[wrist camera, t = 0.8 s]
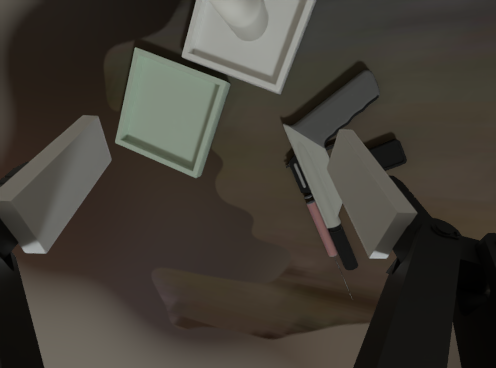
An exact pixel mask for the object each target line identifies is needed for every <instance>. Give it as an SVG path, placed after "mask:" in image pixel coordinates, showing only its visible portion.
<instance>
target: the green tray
mask: <svg viewBox="0 0 496 368" xmlns="http://www.w3.org/2000/svg"><path fill="white" fill-rule="evenodd" d="M230 85H231V84H230V83H228V82H226V81H224V80H221V79H218V78H216V77H213V76H210V75H208V74H205V73H202V72H200V71H197V70H194V69H192V68H189V67H186V66H184V65H181V64H178V63H176V62H173V61H171V60H168V59H165V58H163V57H160V56H157V55H155V54H152V53H149V52H147V51H144V50H141V49H139V48H136V47H135V50H134V55H133V59H132V64H131V69H130V74H129V78H128V83H127V88H126V93H125V98H124V102H123V107H122V112H121V117H120V122H119V127H118V131H117V136H116V141H115V143H117V144H120V145H122V146H124V147H126V148H128V149H131V150H133V151H135V152H138V153H140V154H142V155H144V156H147V157H149V158H151V159H154V160H156V161H158V162H160V163H163V164H165V165H167V166H170V167H172V168H174V169H176V170H179V171H181V172H183V173H186V174H188V175H190V176H192V177H195V178H197V177H199V176H201V174H202V171H203V168H204V165H205V162H206V159H207V156H208V153H209V149H210V146H211V143H212V140H213V137H214V134H215V131H216V128H217V125H218V122H219V119H220V115H221V112H222V109H223V106H224V103H225V100H226V97H227V94H228V91H229V88H230Z"/></svg>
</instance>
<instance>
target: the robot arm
mask: <svg viewBox="0 0 496 368" xmlns="http://www.w3.org/2000/svg"><path fill="white" fill-rule="evenodd" d="M110 162H111V156H110V153H109V150H108V146H107V143H106V140H105V137H104V133H103V130H102V127H101V124H100V120H99V117H98V116H87V115H83V116H82V117H81V118H79V119H78V120H77V121H76V122H75V123H74V124H73V125H71V126H70V127H69V128H68V129H67V130H66V131H64V132H63V133H62V134H61V135H60V136H59V137H58V138H56V139H55V140H54V141H53V142H52V143H51V144H50V145H48V146H47V147H46V148H45V149H44V150H43V151H41V152H40V154H38V155H37V156H36V157H35V158H33V159H32V160H31V161H30V162H26V163H24V164H22V165H20V166H18V167H16V168H14V169H13V170H11V171H10V172H9V173H8V174H7V175H6V176H5V178H2V179H1V180H0V368H44V365H43V361H42V358H41V353H40V349H39V345H38V341H37V338H36V334H35V330H34V326H33V322H32V318H31V314H30V310H29V306H28V303H27V299H26V295H25V291H24V287H23V284H22V279H21V275H20V271H19V268H18V264H17V260H16V257H15V255H14V254H13V253H12V252H11V251H12V250H13V249H14V247H15V246H16V245H17V244H19V245H20V246H21V247H22V249H23V250H24V252H25V253H47V251H48V250H49V249H50V247H51V246H52V245H53V243H54V242H55V240H56V239H57V237H58V236H59V235H60V233H61V232H62V230H63V229H64V227H65V226H66V225H67V223H68V222H69V220H70V219H71V217H72V216H73V215H74V213H75V211H76V210H77V209H78V207H79V206H80V205H81V203H82V202H83V200H84V199H85V197H86V196H87V194H88V193H89V192H90V190H91V189H92V187H93V186H94V184H95V183H96V182H97V180H98V179H99V177H100V176H101V174H102V173H103V172H104V170H105V169H106V167H107V166H108V165H109V163H110ZM327 171H328V173H329V175H330V177H331V179H332V182H333V184H334V186H335V188H336V190H337V192H338V194H339V196H340V198H341V200H342V202H343V204H344V207H345V209H346V211H347V213H348V215H349V217H350V219H351V221H352V223H353V225H354V227H355V230H356V232H357V234H358V236H359V238H360V240H361V242H362V244H363V246H364V248H365V250H366V252H367V255H368V257H369V258H387V257H388V255H389V254H390V252H391V251H392V250H393V251H394V253H395V254H396V256H397V258H396V259H395V261H394V262H393V264H392V265H391V266H390V268H389V269H388V270H387V272H386V273H388V274H389V275H388V278H387V280H386V283H385V286H384V288H383V291H382V294H381V296H380V299H379V301H378V304H377V307H376V309H375V312H374V315H373V317H372V320H371V322H370V325H369V328H368V330H367V333H366V336H365V338H364V341H363V344H362V346H361V349H360V352H359V354H358V357H357V359H356V362H355V364H354V367H353V368H447V363H448V355H449V347H450V339H451V331H452V322H453V325H454V330H455V335H456V341H457V346H458V351H459V356H460V362H461V367H462V368H496V233H488V234H486V235H485V236H484V237H483V238H482V239H481V240H480V241H479V240H476V239H472V238H468V237H464V236H462V235H461V234H460V233H459V231H458V230H457V229H456V228H454V227H453V226H452V225H450V224H449V223H447V222H445V221H442V220H440V219H436V218H432V217H431V216H430V215H429V214H428V212H427V211H426V210H425V209H424V208H423V206H422V205H421V204H420V203H419V202H418V200H417V199H416V198H414V195H413V194H412V193H411V192H410V191H409V189H408V188H407V187H406V186H405V185H404V183H403V182H401V181H400V180H398V179H397V178H396V177H394V176H388V175H387V173H386V172H385V171H384V169H383V168H382V167H381V166H380V164H379V163H378V162H377V161H376V159H375V158H374V157H373V155H372V154H371V153H370V152H369V150H368V149H367V148H366V146H365V145H364V144H363V143H362V141H361V140H360V139H359V137H358V136H357V135H356V134H355V132H354V131H353V130H347V129H339V132H338V135H337V138H336V141H335V144H334V147H333V150H332V153H331V157H330V160H329V163H328V166H327Z"/></svg>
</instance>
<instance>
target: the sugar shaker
mask: <svg viewBox="0 0 496 368" xmlns="http://www.w3.org/2000/svg"><path fill="white" fill-rule="evenodd" d="M209 2H210V3H211V4H212V5H213V7H214V8H215V9H216V10H217V12H218V13H219V14H220V16H221V17H222V18H223V19H224V21H225V22H226V23H227V25H228V26H229V27H230V28H231V30H232V31H233V32H234V33H235V35H236V36H237V37H238V38H239V39H241V40H243V41H254V40H256V39H258V38H259V37H261V36H262V35H263V33H264V32H265V30H266V28H267V26H268V21H269V15H268V11H267V8H266V5H265V2H264V0H209Z"/></svg>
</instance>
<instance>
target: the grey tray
mask: <svg viewBox="0 0 496 368" xmlns="http://www.w3.org/2000/svg"><path fill="white" fill-rule="evenodd" d="M264 2H265V5H266V8H267V11H268V15H269V21H268V26H267V28H266V30H265V32H264V33H263V35H262V36H261V37H259V38H258V39H256V40H254V41H243V40H241V39H239V38H238V37H237V36H236V35H235V33H234V32H233V31H232V30H231V28H230V27H229V26H228V25H227V23H226V22H225V21H224V19H223V18H222V17H221V16H220V14H219V13H218V12H217V10H216V9H215V8H214V7H213V5H212V4H211V3H210V2H209V0H196V3H195V7H194V11H193V15H192V19H191V22H190V26H189V30H188V34H187V38H186V42H185V45H184V49H183V53H182V57H183V58H185V59H186V60H188V61H191V62H194V63H197V64H199V65H202V66H205V67H207V68H210V69H213V70H215V71H218V72H221V73H223V74H226V75H229V76H231V77H234V78H237V79H239V80H242V81H245V82H247V83H250V84H253V85H255V86H258V87H261V88H263V89H266V90H269V91H271V92H274V93H277V94H281V92H282V89H283V87H284V84H285V81H286V79H287V76H288V73H289V71H290V68H291V66H292V63H293V60H294V58H295V55H296V53H297V50H298V47H299V45H300V42H301V40H302V37H303V34H304V32H305V29H306V26H307V24H308V21H309V19H310V16H311V13H312V11H313V8H314V6H315V3H316V0H264Z"/></svg>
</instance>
